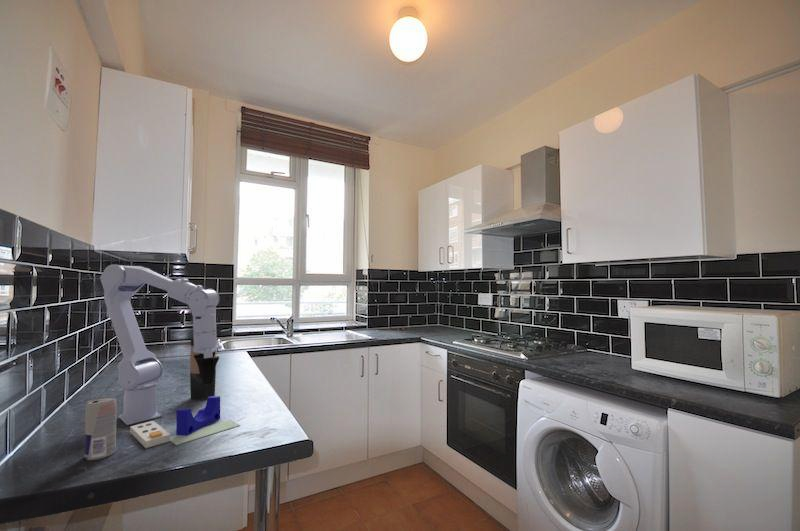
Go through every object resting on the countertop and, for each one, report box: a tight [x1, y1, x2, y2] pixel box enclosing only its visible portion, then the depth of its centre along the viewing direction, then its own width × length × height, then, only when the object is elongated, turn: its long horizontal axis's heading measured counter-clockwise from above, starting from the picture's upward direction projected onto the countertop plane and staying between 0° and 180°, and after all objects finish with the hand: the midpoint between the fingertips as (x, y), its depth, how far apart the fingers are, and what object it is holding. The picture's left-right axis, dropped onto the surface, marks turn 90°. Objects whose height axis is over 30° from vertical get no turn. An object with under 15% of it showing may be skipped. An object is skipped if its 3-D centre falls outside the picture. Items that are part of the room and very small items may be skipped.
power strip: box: [129, 420, 171, 449], centre depth 89 cm, size 14×5×2 cm, turn 49°
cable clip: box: [175, 395, 221, 436], centre depth 95 cm, size 12×4×6 cm, turn 168°
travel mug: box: [189, 336, 217, 401], centre depth 121 cm, size 8×8×20 cm
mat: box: [169, 419, 241, 446], centre depth 91 cm, size 6×15×1 cm, turn 139°
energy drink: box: [83, 396, 118, 461], centre depth 80 cm, size 5×5×12 cm
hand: (206, 380), depth 101 cm, fingers open, 7 cm apart
